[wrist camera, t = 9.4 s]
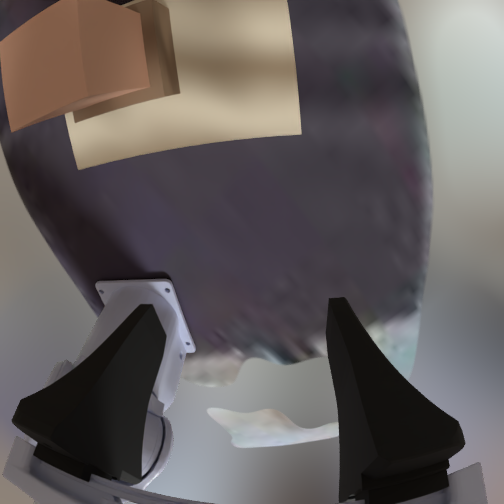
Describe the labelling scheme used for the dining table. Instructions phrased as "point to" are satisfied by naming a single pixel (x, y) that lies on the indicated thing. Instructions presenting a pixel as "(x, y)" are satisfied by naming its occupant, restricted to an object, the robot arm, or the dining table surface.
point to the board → (207, 85)
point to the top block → (71, 60)
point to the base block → (157, 60)
